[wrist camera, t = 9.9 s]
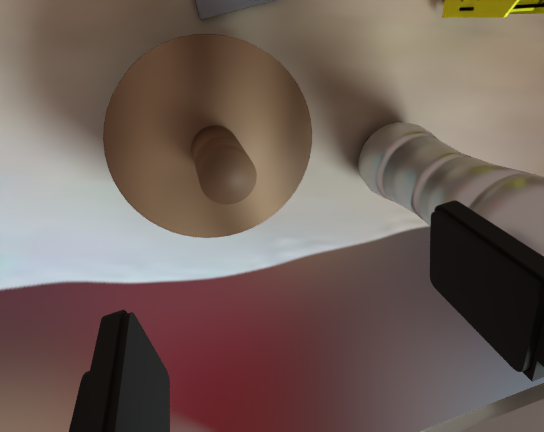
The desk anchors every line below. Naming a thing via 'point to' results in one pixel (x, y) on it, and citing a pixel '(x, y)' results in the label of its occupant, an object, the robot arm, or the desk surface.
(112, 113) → the lid
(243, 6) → the mat
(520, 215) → the plastic bottle
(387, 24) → the desk surface
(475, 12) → the yellow toy chassis
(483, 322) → the robot arm
